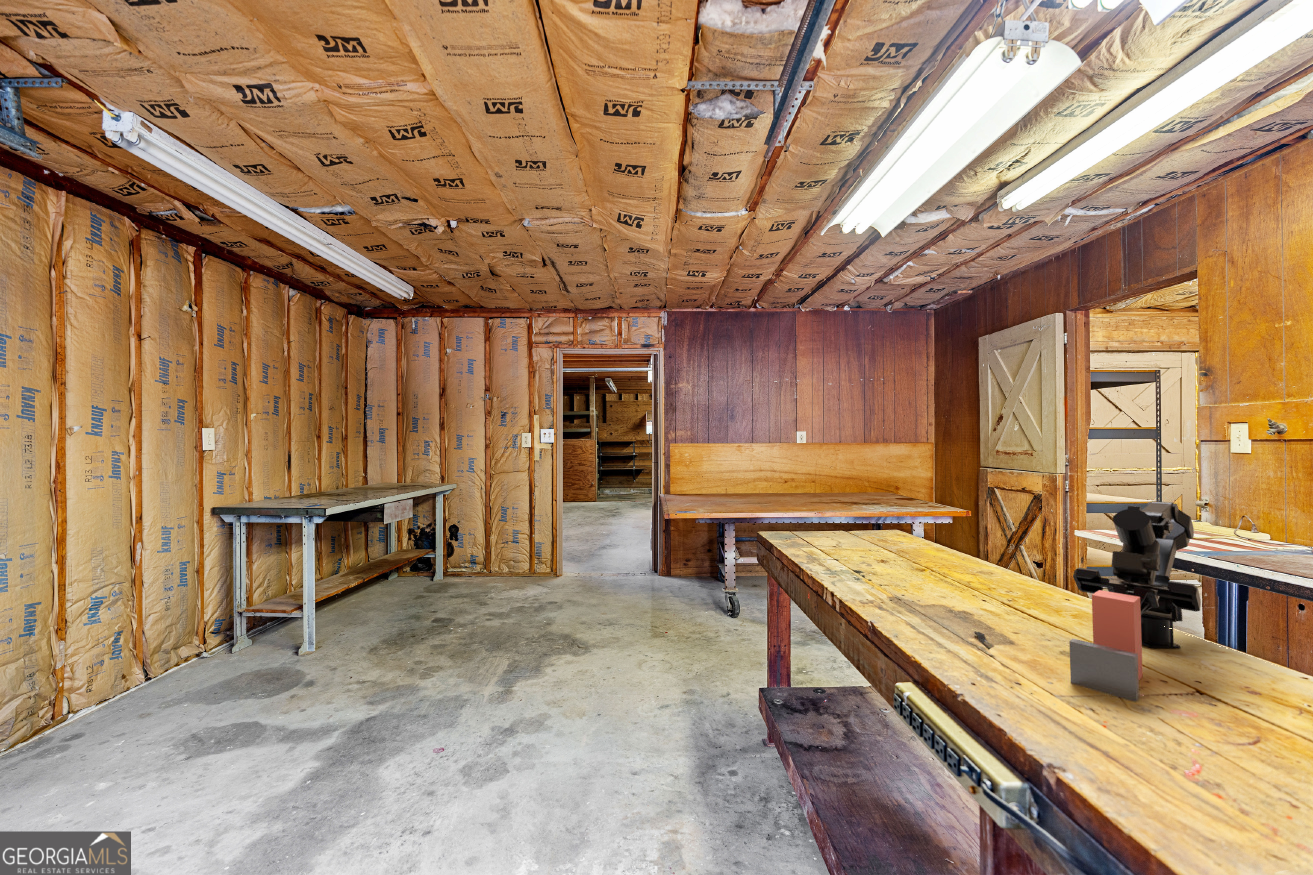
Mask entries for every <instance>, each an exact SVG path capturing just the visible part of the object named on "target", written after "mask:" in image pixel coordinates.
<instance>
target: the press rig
mask: <svg viewBox="0 0 1313 875" xmlns="http://www.w3.org/2000/svg"><path fill="white" fill-rule="evenodd" d="M1068 643H1069V664H1070V667H1069V668H1070V670H1069V671H1070V672H1069V673H1070V683H1071V684H1073V685H1076V686H1080V687H1083V688H1087V689H1090V690H1094V691H1097V692H1101V693H1104V694H1106V695H1107V694H1108V695H1110V696H1114V697H1117V698H1119V699H1120V698H1122V699H1124V700H1128V701H1131V702H1134V703H1137V702H1138V701H1139V699H1140V696H1141V697H1144V696H1145V695H1144V694H1142V693H1140V686H1139V682H1140V681H1138V654H1136V653H1132V652H1128V651H1123V650H1119V649H1115V648H1111V647H1107V646H1102V645H1098V644H1094V643H1093V642H1091V641H1090V642H1089V641H1085V640H1080V639H1077V638H1071V639H1070V640H1069V642H1068Z"/></svg>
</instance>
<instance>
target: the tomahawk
mask: <svg viewBox="0 0 1313 875" xmlns="http://www.w3.org/2000/svg"><path fill="white" fill-rule="evenodd" d="M974 635H975V636H976V638H977V639H978V641H979V642H980V643H981V644H982V645H984V646H985V647H986V648H987V649H988V650H991V649H993V648H994V647H995V646H994V645H993V644H992V643H991V642H989V641H988V640H987V639H986V635H985V634H984V633H982V632H980V631H976V630H975V631H974Z"/></svg>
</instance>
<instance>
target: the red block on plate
mask: <svg viewBox="0 0 1313 875" xmlns="http://www.w3.org/2000/svg"><path fill="white" fill-rule="evenodd" d="M1091 608H1092V609H1091V611H1092V612H1091V614H1092V643H1094V644H1098V645H1102V646H1107V647H1111V648H1115V649H1119V650H1123V651H1128V652H1132V653H1136V654H1138V682H1140V680H1142V678H1143V676H1144V675H1143V647H1142V646H1143V644H1142V639H1141V609H1140V597H1137V596H1132V595H1126V594H1120V593H1114V592H1109V591H1108V590H1103V591H1102V590H1098V591H1097V592H1095V593H1094V594H1093V593H1091Z"/></svg>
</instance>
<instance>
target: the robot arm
mask: <svg viewBox="0 0 1313 875" xmlns="http://www.w3.org/2000/svg"><path fill="white" fill-rule="evenodd" d="M1112 521H1113V525H1114V527H1115V528H1114V529H1115V531H1116V533H1117V537H1118V540H1119V541H1120V542H1121V543H1122V547H1121V551H1116V550H1114V551H1112V555H1111V568H1112V574H1113V575H1112V576H1108V578H1107V577H1102V576H1101V573H1100V571H1099V570H1098V569H1090V568H1083V567H1077V568H1076V569H1075V570H1074V571H1073V575H1072V578H1073V580H1074V581H1075V584H1076V588H1077V589H1078V590H1079V591H1080V592H1082V593H1088V594H1094V593H1095V592H1097V591H1098V590H1102V591H1104V589H1107V591H1108V592H1114V593H1120V594H1126V595H1132V596H1137V597H1140V609H1141V639H1142V646H1145V647H1147V648H1150V649H1181V645H1180V644H1177V643H1175V642H1174V640H1175V639H1174V623H1177V622H1183V620H1184V619H1183V610H1185V611H1189V612H1190V611H1191V612H1200V611H1201V605H1202V600H1201V596H1200V592H1199V588H1198V587H1197V586H1196V585H1195V584H1194V583H1193V584H1192V583H1187V582H1181V581H1179V582H1178V581H1174V580H1171V579H1170V576H1171V574H1172V569H1173V565H1174V561H1175V558H1176V554H1177V551H1179V550H1181V549H1182V550H1183V549H1185V548H1187V547H1188V545H1189V544H1190V540H1193V539H1194V537H1195V536H1194V533H1195V529H1194V524H1193V521H1192V517H1191V516H1190V515H1188V514H1187V513H1185V512H1183V511H1182V510H1181V509H1179V506H1178V503H1175V502H1172V501H1171V502H1169V501H1168V502H1167V501H1148V502H1147V505H1146V506H1145V507H1144V508H1142V507H1141V506H1140V505H1128V506H1127V509H1123V510H1120V511H1118V512H1116V513H1115V514H1114V515H1113V517H1112ZM1164 626H1165V627H1164ZM1169 628H1172V629H1169Z"/></svg>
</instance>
